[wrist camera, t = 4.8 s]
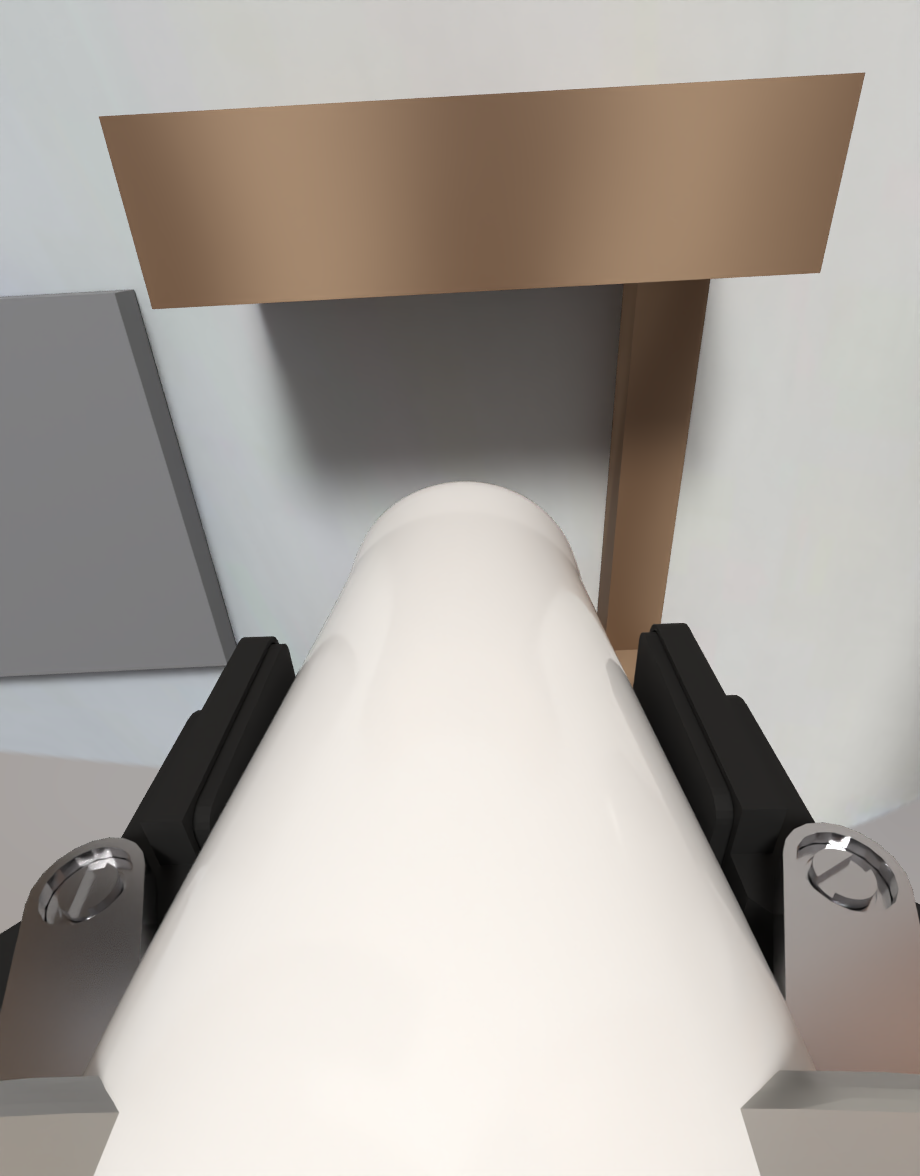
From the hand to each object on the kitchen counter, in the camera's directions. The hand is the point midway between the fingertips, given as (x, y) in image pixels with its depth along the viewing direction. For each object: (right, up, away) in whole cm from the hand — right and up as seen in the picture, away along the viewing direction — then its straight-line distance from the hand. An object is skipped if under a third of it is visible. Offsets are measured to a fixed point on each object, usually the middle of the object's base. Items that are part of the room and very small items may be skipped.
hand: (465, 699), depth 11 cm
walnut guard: (+1, +6, +10) cm, 12 cm away
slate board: (-16, +5, +10) cm, 20 cm away
